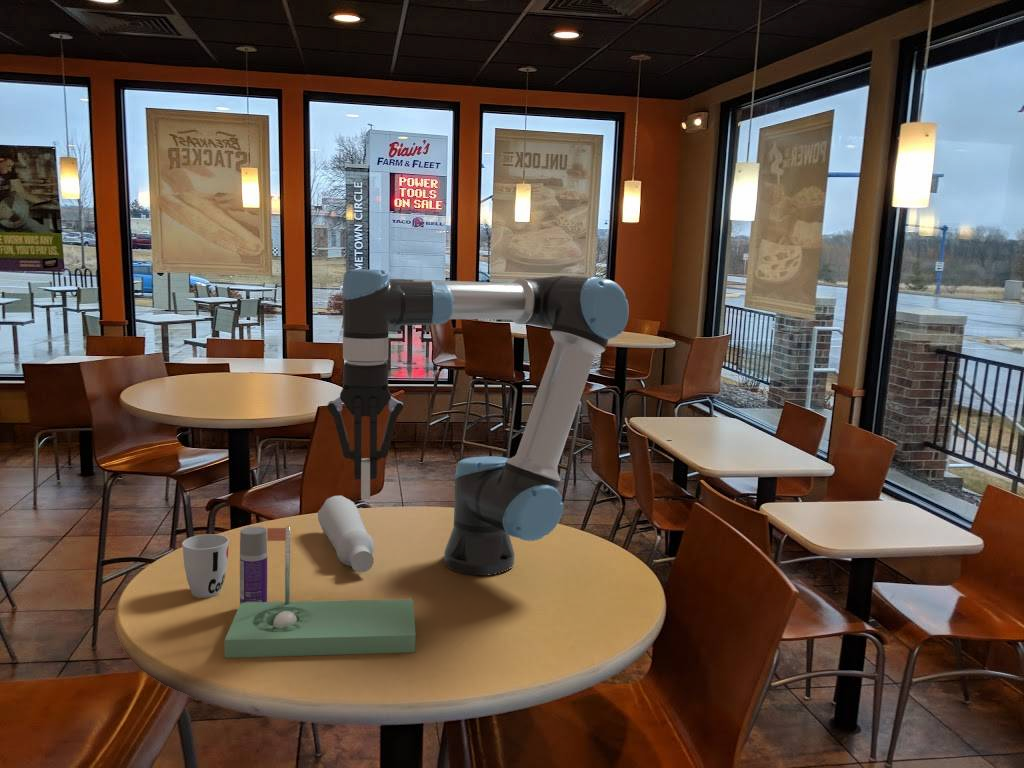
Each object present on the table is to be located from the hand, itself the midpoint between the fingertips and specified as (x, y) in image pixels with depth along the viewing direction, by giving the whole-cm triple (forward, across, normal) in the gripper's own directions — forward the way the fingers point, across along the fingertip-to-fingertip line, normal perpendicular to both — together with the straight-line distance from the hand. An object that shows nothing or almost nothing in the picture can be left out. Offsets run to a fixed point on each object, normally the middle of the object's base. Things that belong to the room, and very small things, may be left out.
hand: (365, 496), depth 137 cm
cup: (+23, +30, -14) cm, 40 cm away
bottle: (+24, +4, -34) cm, 41 cm away
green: (+23, +7, +5) cm, 24 cm away
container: (+23, +20, -6) cm, 31 cm away
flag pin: (+20, +15, -2) cm, 25 cm away
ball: (+21, +13, +4) cm, 25 cm away
